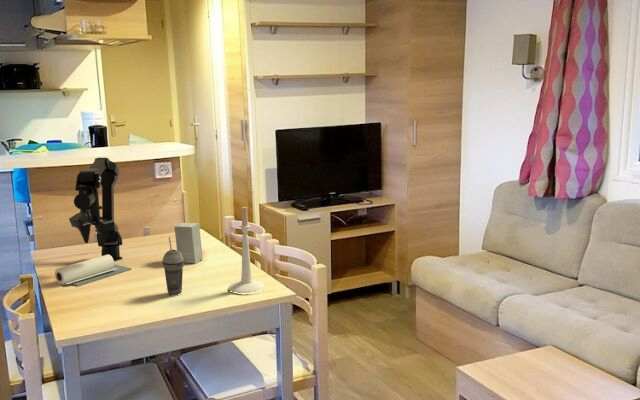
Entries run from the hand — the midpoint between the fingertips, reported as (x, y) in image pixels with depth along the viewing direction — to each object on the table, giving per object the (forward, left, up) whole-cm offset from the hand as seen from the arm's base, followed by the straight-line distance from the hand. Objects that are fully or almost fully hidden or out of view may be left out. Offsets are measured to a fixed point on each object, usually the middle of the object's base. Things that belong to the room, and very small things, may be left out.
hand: (94, 244), depth 225 cm
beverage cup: (-1, +41, -12) cm, 43 cm away
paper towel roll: (-7, 0, -9) cm, 12 cm away
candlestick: (-18, +59, -12) cm, 63 cm away
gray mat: (0, 0, -12) cm, 12 cm away
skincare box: (-32, +17, -12) cm, 38 cm away
